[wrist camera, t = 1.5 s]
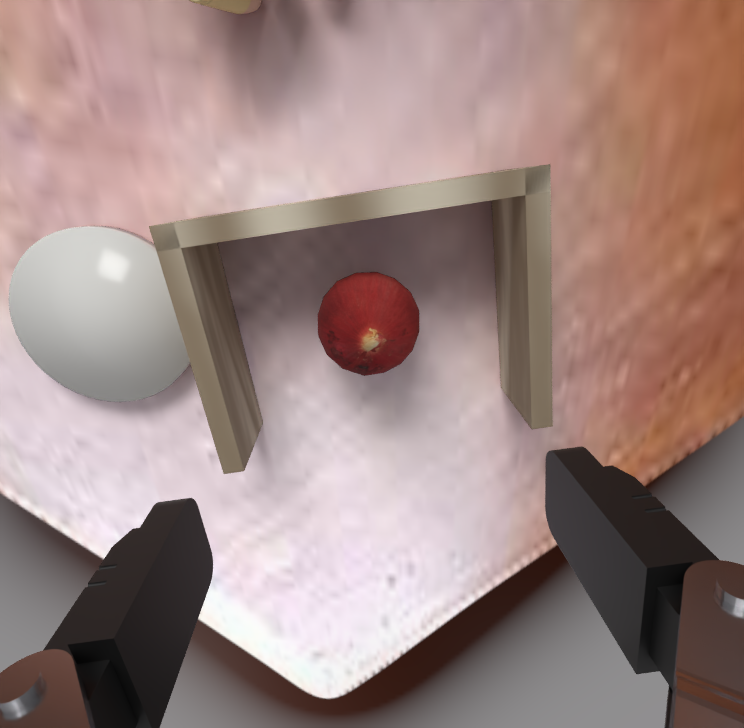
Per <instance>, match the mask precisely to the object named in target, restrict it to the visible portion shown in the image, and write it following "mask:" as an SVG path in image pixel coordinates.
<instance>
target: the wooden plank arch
mask: <svg viewBox="0 0 744 728" xmlns="http://www.w3.org/2000/svg"><path fill="white" fill-rule="evenodd" d="M484 201H492V220H493V240H494V260H495V279H496V299H497V319H498V338H499V358H500V378H501V388H502V390H503V391H504V393H505V394H506V395H507V397H508V398H509V399H510V401H511V402H512V403H513V405H514V406H515V407H516V409H517V410H518V411H519V413H520V414H521V415H522V417H523V418H524V420H525V421H526V422H527V424H528V425H529V426H530V428H531V429H537V428H544V427H551V426H553V424H552V305H551V187H550V164H549V165H541V166H533V167H525V168H517V169H509V170H503V171H496V172H490V173H484V174H477V175H471V176H464V177H458V178H451V179H445V180H438V181H432V182H425V183H419V184H412V185H406V186H399V187H393V188H387V189H380V190H374V191H367V192H361V193H354V194H348V195H341V196H335V197H328V198H322V199H315V200H309V201H303V202H296V203H290V204H283V205H277V206H270V207H264V208H257V209H251V210H244V211H238V212H231V213H225V214H218V215H212V216H206V217H199V218H193V219H187V220H181V221H176V222H170V223H165V224H159V225H154V226H149V228H150V232H151V235H152V238H153V241H154V245H155V248H156V251H157V255H158V258H159V261H160V265H161V268H162V271H163V275H164V278H165V281H166V284H167V288H168V291H169V294H170V298H171V301H172V304H173V308H174V311H175V314H176V318H177V321H178V324H179V327H180V331H181V334H182V337H183V341H184V344H185V347H186V351H187V354H188V357H189V361H190V364H191V367H192V370H193V374H194V377H195V380H196V384H197V387H198V390H199V394H200V397H201V400H202V404H203V407H204V410H205V413H206V417H207V420H208V423H209V427H210V430H211V433H212V437H213V440H214V443H215V447H216V450H217V453H218V456H219V460H220V463H221V466H222V470H223V473H224V474H227V473H234V472H241V471H244V470H245V468H246V465H247V462H248V460H249V457H250V455H251V452H252V450H253V447H254V444H255V442H256V439H257V437H258V434H259V432H260V429H261V427H262V424H263V421H262V417H261V413H260V409H259V405H258V401H257V398H256V394H255V390H254V386H253V382H252V378H251V374H250V370H249V366H248V362H247V358H246V354H245V351H244V347H243V343H242V339H241V335H240V331H239V327H238V323H237V319H236V315H235V311H234V308H233V304H232V300H231V296H230V292H229V288H228V284H227V280H226V276H225V272H224V268H223V265H222V261H221V257H220V253H219V249H218V245H217V242H224V241H230V240H237V239H243V238H250V237H256V236H263V235H269V234H276V233H282V232H289V231H295V230H302V229H308V228H315V227H321V226H328V225H334V224H341V223H347V222H354V221H360V220H367V219H373V218H380V217H386V216H393V215H399V214H406V213H412V212H419V211H425V210H432V209H438V208H445V207H451V206H458V205H464V204H471V203H478V202H484Z"/></svg>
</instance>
